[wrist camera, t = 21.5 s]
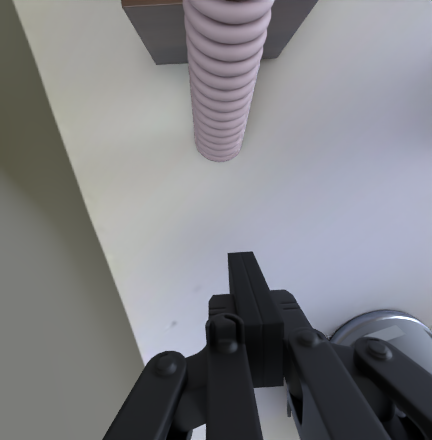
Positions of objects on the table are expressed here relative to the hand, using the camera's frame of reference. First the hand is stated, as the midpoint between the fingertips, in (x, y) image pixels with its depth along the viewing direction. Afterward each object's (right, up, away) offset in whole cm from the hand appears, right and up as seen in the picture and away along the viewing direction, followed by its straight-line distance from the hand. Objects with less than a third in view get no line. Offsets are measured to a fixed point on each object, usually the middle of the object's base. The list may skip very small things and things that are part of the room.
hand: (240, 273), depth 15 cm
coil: (-1, +16, +2) cm, 16 cm away
